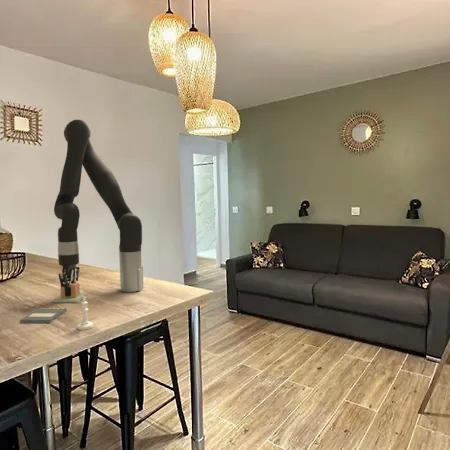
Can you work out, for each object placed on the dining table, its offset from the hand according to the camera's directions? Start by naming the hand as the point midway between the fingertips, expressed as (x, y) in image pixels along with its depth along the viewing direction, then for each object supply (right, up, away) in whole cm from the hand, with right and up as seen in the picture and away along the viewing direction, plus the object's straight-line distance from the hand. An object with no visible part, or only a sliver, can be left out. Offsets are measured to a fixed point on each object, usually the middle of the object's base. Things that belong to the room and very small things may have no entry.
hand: (70, 294), depth 141 cm
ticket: (0, -4, -20) cm, 20 cm away
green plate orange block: (0, -2, -1) cm, 2 cm away
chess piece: (+18, -5, -29) cm, 34 cm away
